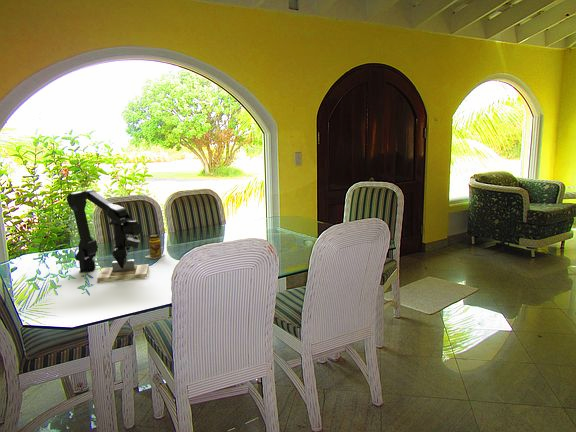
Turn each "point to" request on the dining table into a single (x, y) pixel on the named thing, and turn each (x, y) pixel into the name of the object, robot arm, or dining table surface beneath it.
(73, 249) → the dining table surface
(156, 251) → the condiment
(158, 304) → the dining table surface
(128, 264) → the panel
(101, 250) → the dining table surface
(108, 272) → the rack
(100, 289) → the dining table surface
